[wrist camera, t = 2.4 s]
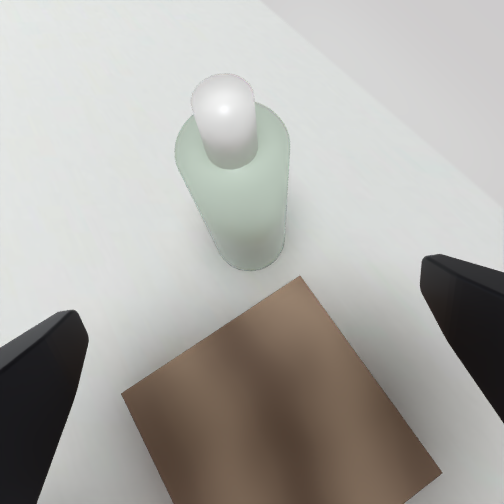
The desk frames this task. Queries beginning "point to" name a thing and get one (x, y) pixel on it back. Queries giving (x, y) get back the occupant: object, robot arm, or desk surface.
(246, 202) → the sage bottle
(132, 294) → the desk surface
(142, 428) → the walnut board
